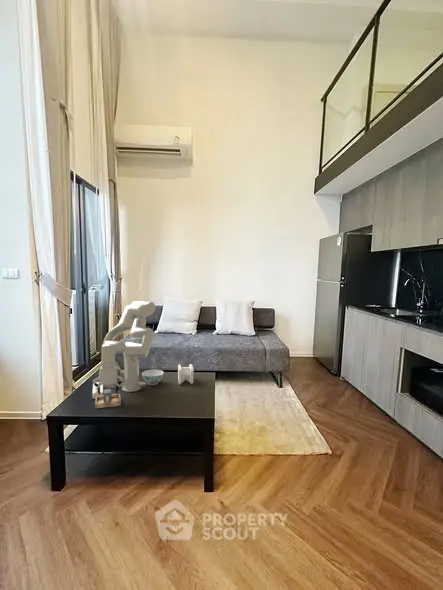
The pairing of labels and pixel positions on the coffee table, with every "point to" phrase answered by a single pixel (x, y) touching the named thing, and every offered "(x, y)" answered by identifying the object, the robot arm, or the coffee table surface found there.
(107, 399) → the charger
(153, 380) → the chinaware
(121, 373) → the ceramic cottage
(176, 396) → the coffee table surface
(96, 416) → the coffee table surface
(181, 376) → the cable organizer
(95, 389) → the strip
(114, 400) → the tray
